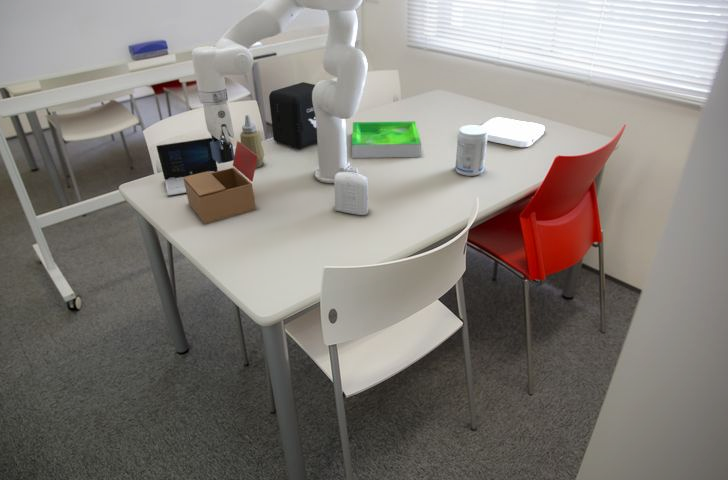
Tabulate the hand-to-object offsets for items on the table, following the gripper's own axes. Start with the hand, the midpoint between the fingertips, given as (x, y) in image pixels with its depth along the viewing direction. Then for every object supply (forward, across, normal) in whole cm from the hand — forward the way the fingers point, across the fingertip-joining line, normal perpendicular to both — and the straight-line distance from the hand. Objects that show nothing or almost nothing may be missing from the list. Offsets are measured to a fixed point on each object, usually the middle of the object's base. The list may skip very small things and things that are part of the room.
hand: (223, 157), depth 150 cm
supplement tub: (+15, -23, -77) cm, 82 cm away
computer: (+15, -7, -115) cm, 116 cm away
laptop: (+16, +21, +5) cm, 27 cm away
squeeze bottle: (+15, +25, -18) cm, 34 cm away
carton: (+15, 0, +3) cm, 16 cm away
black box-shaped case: (+15, +36, -45) cm, 60 cm away
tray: (+15, +14, -68) cm, 71 cm away
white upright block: (+15, -25, -28) cm, 41 cm away
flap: (+2, 0, -6) cm, 6 cm away
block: (0, 0, 0) cm, 0 cm away
